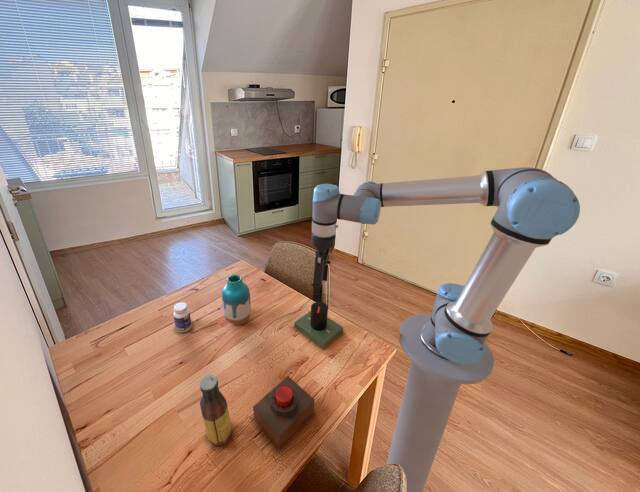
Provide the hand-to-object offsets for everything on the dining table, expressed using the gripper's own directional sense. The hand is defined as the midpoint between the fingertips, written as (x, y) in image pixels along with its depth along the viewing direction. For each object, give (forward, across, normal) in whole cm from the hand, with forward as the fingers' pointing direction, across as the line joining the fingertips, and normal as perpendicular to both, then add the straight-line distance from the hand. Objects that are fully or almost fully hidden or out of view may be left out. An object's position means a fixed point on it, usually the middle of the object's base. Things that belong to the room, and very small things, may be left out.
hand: (320, 290), depth 101 cm
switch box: (+18, -34, +3) cm, 39 cm away
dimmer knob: (+16, 0, 0) cm, 16 cm away
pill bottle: (+18, -13, +49) cm, 54 cm away
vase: (+18, -3, +31) cm, 36 cm away
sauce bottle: (+18, -43, +18) cm, 50 cm away
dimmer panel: (+18, 0, 0) cm, 18 cm away
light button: (+11, -34, +3) cm, 36 cm away
